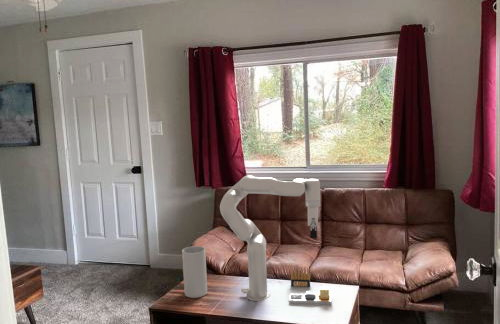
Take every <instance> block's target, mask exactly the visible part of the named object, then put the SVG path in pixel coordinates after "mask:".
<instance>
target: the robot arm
mask: <svg viewBox="0 0 500 324" xmlns="http://www.w3.org/2000/svg"><path fill="white" fill-rule="evenodd" d="M248 194H257V195H258V194H265V195H273V196H283V197H301V196H303V195H304V194H305V207H307V226H308V227H310V231H309V232H310V236H309V237H310V239H317V238H318V235H317V233H318V230H317V228H318V222H319V221H318V220H319V207H321V182H320V180H319V179H318V178H317V179H316V178H309V179H307V178H305V179H304V178H295V179H293V180H292V181H291V180H290V181H286V180H279V179H276V178H273V177H264V176H263V177H262V176H261V177H260V176H259V177H258V176H253V175H251V174H248V175H245V176H243V177H242V178H241V179H240V180H239V181H237V182H236V183H235V184H234V185H233V186H231V187H230V189H228V191H227V192H226V193H225V194H223V197H222V199H221V201H220V205H219V212H220V214H221V216H222V218H223V220H224V221H225V222H226V223H227V225H229V228H230V229H231V230H232V231H233V233H234V234H235V235H236V238H238V239H239V240H240V241H242V242H246V243H247V247H246V255H247V270H248V287H247V288H245V287H242V288H241V293H242V294H246V298H247V300H249V301H252V302H258V301H263V300H267V299H268V298H269V297H271V293H270V292H269V291H268V284H267V283H268V280H267V276H268V275H267V256H266V254H267V253H266V248H267V239H266V238H265V236H264V235H263V234H262V232H261V231H260V230H259V228H258V227H257V226H256V224H255V223H254V222H253V221H252V220H251V219H249V218H244V217H243V215H242V213H240V211H238V209H237V206H238V205H239V203H240V202H241V201H242V200H243V199H244V198H245V197H246V196H247V195H248Z"/></svg>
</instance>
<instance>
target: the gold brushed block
mask: <svg viewBox="0 0 500 324" xmlns="http://www.w3.org/2000/svg"><path fill="white" fill-rule="evenodd" d="M329 289H330V287H329V286H325V285H324V286H323V285H322V286H321V285H320V286H319V294H320V300H329V294H330V291H329Z"/></svg>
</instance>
